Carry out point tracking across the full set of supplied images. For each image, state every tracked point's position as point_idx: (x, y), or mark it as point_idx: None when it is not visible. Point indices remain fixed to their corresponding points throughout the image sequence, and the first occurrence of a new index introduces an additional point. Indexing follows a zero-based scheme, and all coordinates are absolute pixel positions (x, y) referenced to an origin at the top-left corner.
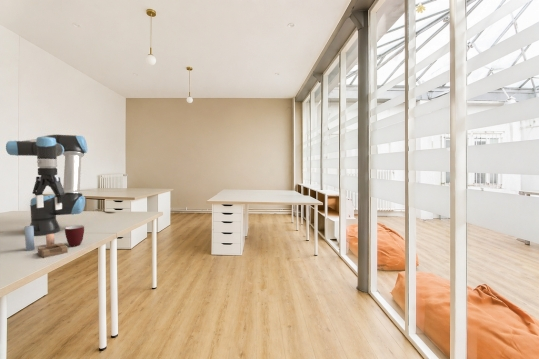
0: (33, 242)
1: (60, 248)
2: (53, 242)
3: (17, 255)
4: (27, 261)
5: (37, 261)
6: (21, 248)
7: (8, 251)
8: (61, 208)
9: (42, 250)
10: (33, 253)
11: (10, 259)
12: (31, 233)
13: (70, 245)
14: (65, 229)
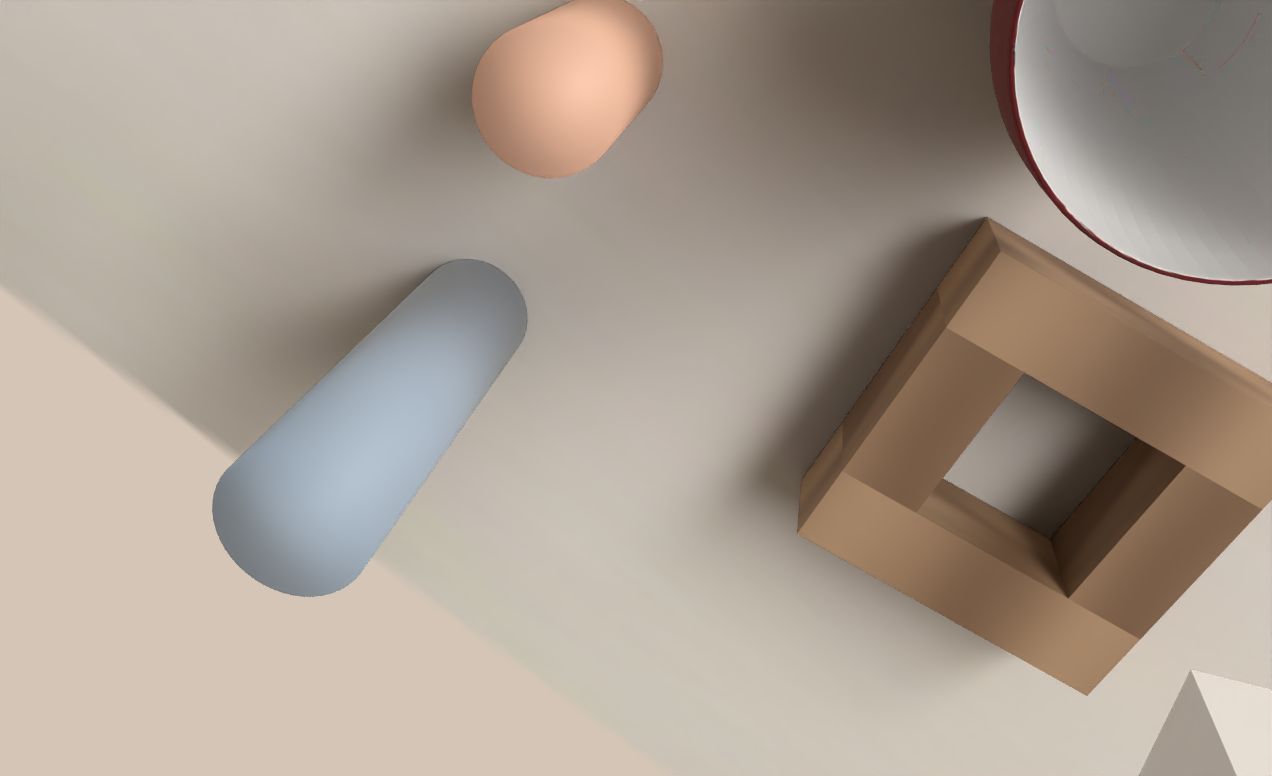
0: (488, 350)
1: (1244, 521)
2: (651, 60)
3: (558, 553)
4: (943, 744)
5: (1091, 744)
6: (263, 269)
7: (235, 412)
8: (1267, 730)
9: (1015, 648)
10: (711, 468)
11: (631, 686)
12: (430, 467)
13: (1096, 87)
14: (1111, 251)
